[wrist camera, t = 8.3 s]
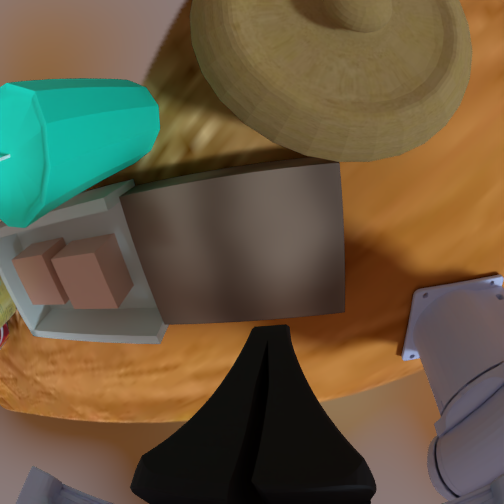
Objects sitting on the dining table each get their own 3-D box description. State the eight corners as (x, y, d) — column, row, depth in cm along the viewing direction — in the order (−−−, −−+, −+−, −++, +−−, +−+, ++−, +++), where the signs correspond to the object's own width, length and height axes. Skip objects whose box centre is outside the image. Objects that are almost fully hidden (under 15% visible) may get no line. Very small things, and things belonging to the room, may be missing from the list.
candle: (173, 148, 18) (47, 220, 7) (101, 177, 19) (-25, 260, 9) (145, 64, 15) (-3, 52, 5) (75, 103, 17) (-67, 138, 6)
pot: (304, -58, 11) (317, -151, 2) (444, 62, 13) (552, 55, 5) (181, 62, 15) (88, 36, 7) (329, 180, 18) (371, 259, 9)
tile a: (114, 233, 21) (94, 252, 18) (134, 285, 23) (118, 308, 20) (71, 240, 21) (50, 259, 19) (91, 288, 23) (74, 309, 21)
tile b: (62, 237, 21) (41, 254, 19) (82, 284, 23) (65, 304, 21) (31, 243, 22) (11, 260, 19) (50, 286, 24) (33, 304, 21)
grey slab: (332, 154, 17) (339, 162, 15) (339, 292, 22) (344, 312, 20) (135, 185, 19) (118, 196, 17) (173, 305, 24) (164, 324, 22)
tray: (133, 179, 19) (103, 197, 16) (175, 310, 24) (160, 343, 21) (10, 215, 21) (-18, 233, 18) (53, 312, 26) (33, 336, 23)
